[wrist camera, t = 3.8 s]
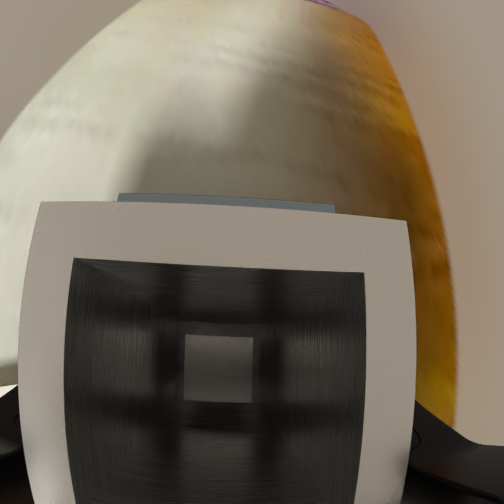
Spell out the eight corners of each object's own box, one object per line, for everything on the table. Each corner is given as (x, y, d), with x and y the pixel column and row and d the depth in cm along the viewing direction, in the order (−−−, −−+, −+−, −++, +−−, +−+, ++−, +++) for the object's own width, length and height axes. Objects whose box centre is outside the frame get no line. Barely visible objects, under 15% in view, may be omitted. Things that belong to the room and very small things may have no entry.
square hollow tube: (275, 418, 13) (387, 550, 3) (161, 413, 13) (44, 536, 2) (278, 308, 15) (406, 221, 4) (164, 302, 14) (41, 201, 4)
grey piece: (325, 475, 14) (370, 523, 8) (111, 467, 13) (66, 513, 7) (329, 237, 18) (376, 188, 12) (121, 226, 17) (81, 172, 11)
